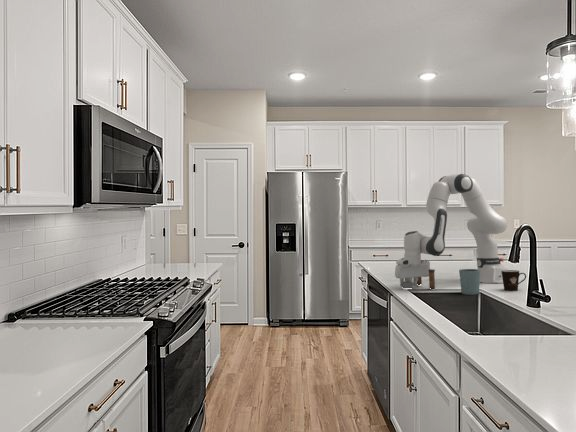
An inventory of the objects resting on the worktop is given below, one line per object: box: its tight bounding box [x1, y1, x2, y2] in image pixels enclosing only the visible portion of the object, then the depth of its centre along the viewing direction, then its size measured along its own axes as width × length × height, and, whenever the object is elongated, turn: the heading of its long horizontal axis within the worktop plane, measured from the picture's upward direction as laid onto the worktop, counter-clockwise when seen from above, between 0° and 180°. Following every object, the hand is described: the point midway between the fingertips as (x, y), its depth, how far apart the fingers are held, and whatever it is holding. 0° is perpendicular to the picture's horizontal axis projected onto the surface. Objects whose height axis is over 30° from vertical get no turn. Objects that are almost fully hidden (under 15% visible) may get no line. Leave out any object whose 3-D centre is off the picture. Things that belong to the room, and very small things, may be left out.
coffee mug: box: [501, 269, 527, 292], centre depth 251 cm, size 12×9×10 cm
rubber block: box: [400, 281, 413, 288], centre depth 265 cm, size 4×4×4 cm
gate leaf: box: [399, 278, 417, 287], centre depth 273 cm, size 2×10×8 cm, turn 113°
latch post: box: [428, 268, 436, 290], centre depth 263 cm, size 4×5×11 cm
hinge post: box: [417, 277, 423, 285], centre depth 276 cm, size 3×3×11 cm
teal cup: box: [458, 268, 481, 296], centre depth 246 cm, size 10×10×12 cm
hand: (413, 285), depth 266 cm, fingers closed
